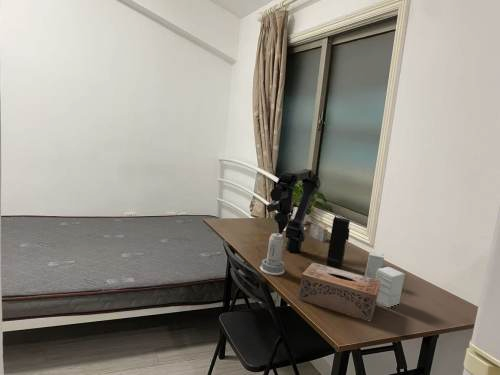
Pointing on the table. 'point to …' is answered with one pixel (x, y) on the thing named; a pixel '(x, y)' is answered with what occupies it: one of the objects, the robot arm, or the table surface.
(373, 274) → the skincare box
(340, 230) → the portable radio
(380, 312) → the table surface
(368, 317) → the tissue box cover
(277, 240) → the energy drink can
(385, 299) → the supplement box
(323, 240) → the architectural model on board
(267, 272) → the dock
